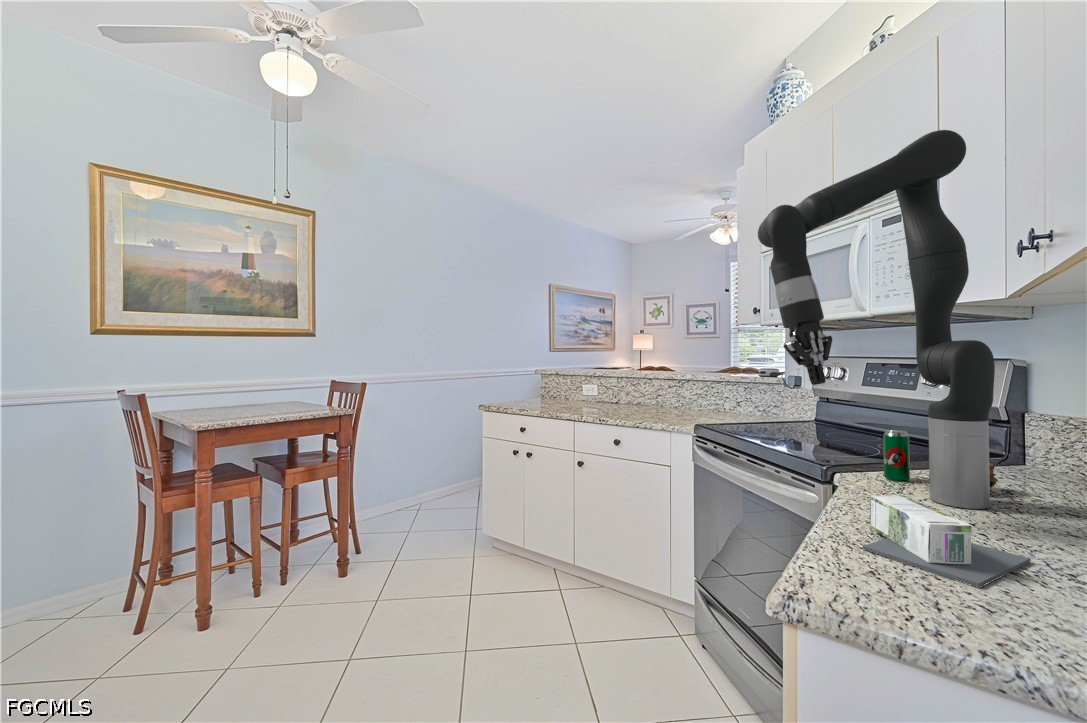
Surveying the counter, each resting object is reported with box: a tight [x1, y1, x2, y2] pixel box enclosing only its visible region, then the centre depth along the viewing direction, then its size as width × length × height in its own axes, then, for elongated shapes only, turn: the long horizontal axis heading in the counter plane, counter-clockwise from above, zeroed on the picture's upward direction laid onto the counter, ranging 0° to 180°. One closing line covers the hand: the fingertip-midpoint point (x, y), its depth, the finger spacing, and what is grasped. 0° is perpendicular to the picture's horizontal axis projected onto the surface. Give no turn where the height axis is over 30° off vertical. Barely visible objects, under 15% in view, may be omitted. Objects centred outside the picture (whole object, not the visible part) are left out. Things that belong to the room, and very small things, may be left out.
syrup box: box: [869, 495, 972, 564], centre depth 72 cm, size 6×6×14 cm
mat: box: [862, 537, 1031, 588], centre depth 70 cm, size 16×14×1 cm
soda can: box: [883, 429, 911, 482], centre depth 114 cm, size 5×5×12 cm
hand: (818, 383), depth 94 cm, fingers closed
